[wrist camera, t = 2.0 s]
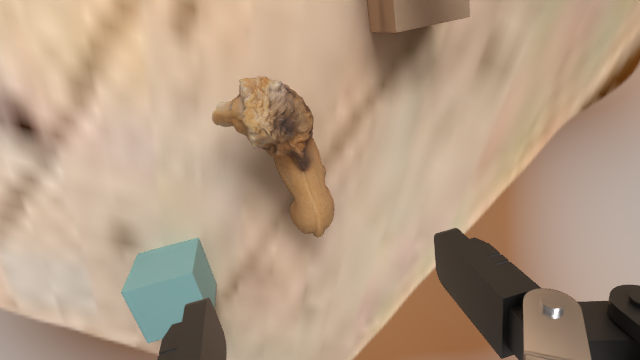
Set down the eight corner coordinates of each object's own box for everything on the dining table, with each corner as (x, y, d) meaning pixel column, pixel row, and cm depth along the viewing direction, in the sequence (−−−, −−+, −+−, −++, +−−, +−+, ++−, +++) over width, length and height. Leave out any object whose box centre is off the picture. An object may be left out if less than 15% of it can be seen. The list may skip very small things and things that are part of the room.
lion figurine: (209, 86, 27) (196, 112, 19) (273, 50, 27) (289, 60, 19) (303, 233, 33) (325, 301, 25) (355, 204, 33) (394, 262, 25)
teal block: (198, 237, 31) (192, 272, 27) (216, 283, 33) (213, 323, 29) (138, 253, 31) (120, 292, 26) (160, 299, 33) (147, 343, 28)
